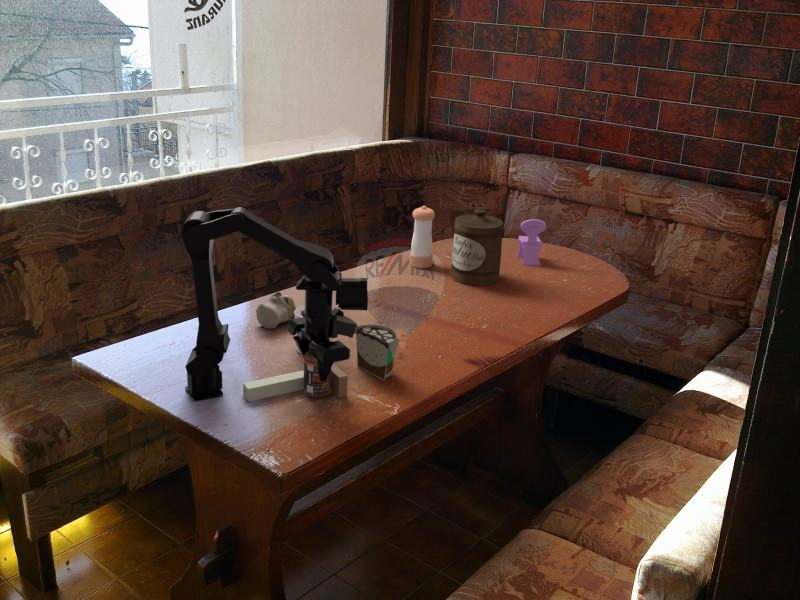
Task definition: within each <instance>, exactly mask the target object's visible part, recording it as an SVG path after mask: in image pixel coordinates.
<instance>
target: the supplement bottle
mask: <svg viewBox="0 0 800 600" xmlns="http://www.w3.org/2000/svg"><path fill="white" fill-rule="evenodd" d="M318 346H319V345H315V344H314V343H313V342H311V343H310V344H309V349H308V350H309V351H308V352H307V353H306V354H305V356H304V358H303V370H304V389H303V392H304V394H305V395H307V396H309V397H313V398H323V397H326V396H329V394H330V393H332V391H331V370H330V373H329V375H328V378H327V380H326V381H323V382H322V381H321V379H320V377H319V374H318V371H317V368H316V364H315V362H314V358H313V355H316V348H317V347H318Z"/></svg>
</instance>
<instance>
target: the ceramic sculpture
mask: <svg viewBox="0 0 800 600" xmlns="http://www.w3.org/2000/svg"><path fill="white" fill-rule="evenodd" d="M297 308H298V307H296V303H295V301H294V299H293V298H292V297H291V296H290V295H286V294H282V293H281V292H280V291H279V292H275V293H273V294H272V295H271V296H270V297H269V299H268V300H267V302H266V303H260V304H258V306H257V308H256V310H255V313H256V320H257V321H258V323H259V324H260V326H262V327H263V328H265V329H271V330H273V329H275V328H276V327H277V326H278V325H279V324H282V323H285V322H290V320H291V319H294V311H295V310H296V309H297Z"/></svg>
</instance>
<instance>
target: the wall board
mask: <svg viewBox="0 0 800 600" xmlns="http://www.w3.org/2000/svg"><path fill="white" fill-rule="evenodd" d="M302 390H303V391H304V369H303V370H300V371H299V370H298V371H294V372H290V373H284V374H280V375H276V376H270V377H266V378H261V379H256V380H251V381H248V382H243V383H242V393H243V394H242V396H243V397H244V398H245V399H246V400H247V402H252V401H256V400H262V399H266V398H272V397H276V396H279V395H285V394H289V393H293V392H294V393H295V392H297V391H302ZM331 393H332V394H334V395H335V396H336V397H337V398H338V399H342V398H346V397H348V375H347V374H346V373H345V372H344V371H343V370H342V369H341V368H339V367H338V366H337V365H336V364H335V362H334V363H333V365H332V368H331Z"/></svg>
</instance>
